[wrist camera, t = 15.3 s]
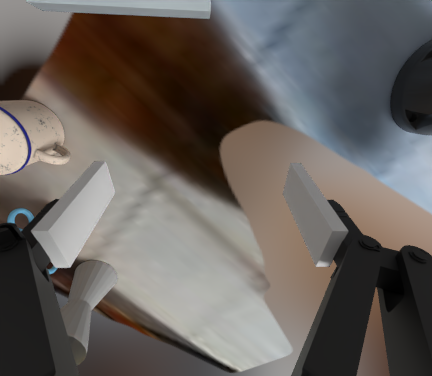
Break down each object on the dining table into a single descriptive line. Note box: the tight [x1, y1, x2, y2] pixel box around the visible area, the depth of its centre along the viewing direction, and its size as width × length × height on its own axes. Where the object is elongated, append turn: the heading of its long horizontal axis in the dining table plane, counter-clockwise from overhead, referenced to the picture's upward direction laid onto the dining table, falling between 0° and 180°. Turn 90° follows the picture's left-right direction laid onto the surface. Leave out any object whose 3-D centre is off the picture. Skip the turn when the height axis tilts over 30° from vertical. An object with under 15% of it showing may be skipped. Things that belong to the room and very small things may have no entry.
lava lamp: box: [60, 260, 117, 366], centre depth 31 cm, size 9×9×35 cm
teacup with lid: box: [0, 100, 70, 175], centre depth 29 cm, size 12×9×12 cm
